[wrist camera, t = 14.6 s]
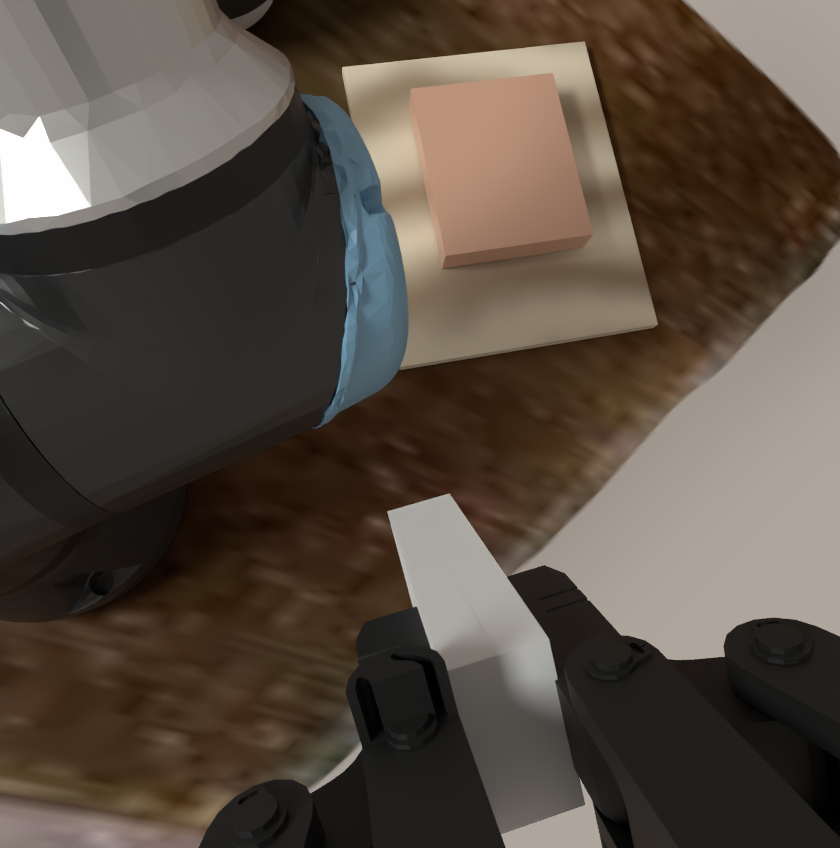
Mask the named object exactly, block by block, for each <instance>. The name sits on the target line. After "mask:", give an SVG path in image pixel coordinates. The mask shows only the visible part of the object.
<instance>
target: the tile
mask: <svg viewBox="0 0 840 848" xmlns="http://www.w3.org/2000/svg"><path fill="white" fill-rule="evenodd" d="M408 109H409V114H410V119H411V124H412V128H413V133H414V138H415V143H416V147H417V152H418V157H419V162H420V166H421V171H422V176H423V181H424V186H425V190H426V195H427V200H428V205H429V209H430V214H431V219H432V224H433V229H434V233H435V238H436V243H437V248H438V252H439V257H440V262H441V267H442V268H449V267H456V266H463V265H469V264H476V263H483V262H490V261H497V260H503V259H510V258H517V257H524V256H531V255H537V254H544V253H551V252H558V251H564V250H571V249H578V248H583V247H584V246H585V244H586V243H587V242H588V241H589V239H590V238H591V237H592V235H593V232H592V228H591V223H590V219H589V215H588V211H587V207H586V203H585V199H584V195H583V191H582V187H581V183H580V179H579V175H578V171H577V167H576V163H575V159H574V155H573V151H572V147H571V143H570V139H569V135H568V131H567V127H566V123H565V119H564V115H563V111H562V107H561V103H560V99H559V95H558V91H557V87H556V83H555V79H554V75H553V73H547V74H538V75H529V76H520V77H511V78H502V79H493V80H484V81H475V82H466V83H457V84H448V85H439V86H430V87H421V88H412V89H410V98H409V106H408Z"/></svg>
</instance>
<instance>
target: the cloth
mask: <svg viewBox="0 0 840 848" xmlns="http://www.w3.org/2000/svg"><path fill="white" fill-rule="evenodd" d="M547 73H553V75H554V79H555V83H556V87H557V91H558V95H559V99H560V103H561V107H562V111H563V115H564V119H565V123H566V127H567V131H568V135H569V139H570V143H571V147H572V151H573V155H574V159H575V163H576V167H577V171H578V175H579V179H580V183H581V187H582V191H583V195H584V199H585V203H586V207H587V211H588V215H589V219H590V223H591V228H592V232H593V235H592V237H591V238H590V239H589V241H588V242H587V243H586V244H585V246H584V247H583V248H578V249H571V250H564V251H558V252H551V253H544V254H537V255H531V256H524V257H517V258H510V259H503V260H497V261H490V262H483V263H476V264H469V265H463V266H456V267H449V268H442V267H441V262H440V257H439V252H438V248H437V243H436V238H435V233H434V229H433V224H432V219H431V214H430V209H429V205H428V200H427V195H426V190H425V186H424V181H423V176H422V171H421V166H420V162H419V157H418V152H417V147H416V143H415V138H414V133H413V128H412V124H411V119H410V114H409V109H408V106H409V98H410V89H412V88H421V87H430V86H439V85H448V84H457V83H466V82H475V81H484V80H493V79H502V78H511V77H520V76H529V75H538V74H547ZM342 75H343V81H344V86H345V91H346V96H347V101H348V106H349V112H350V117H351V120H352V122H353V123H354V125H355V126H356V128H357V130H358V131H359V133H360V135H361V137H362V139H363V141H364V143H365V145H366V147H367V149H368V151H369V153H370V155H371V158H372V160H373V163H374V165H375V168H376V171H377V174H378V176H379V179H380V183H381V194H382V205H383V206H384V208H385V210H386V211H387V212H388V213H390V215H391V217H392V219H393V222H394V225H395V229H396V232H397V236H398V241H399V245H400V250H401V255H402V260H403V266H404V272H405V278H406V286H407V294H408V308H409V330H408V340H407V346H406V351H405V354H404V358H403V361H402V363H401V365H400V367H399V369H400V370H404V369H410V368H416V367H422V366H428V365H434V364H440V363H446V362H452V361H458V360H464V359H470V358H476V357H482V356H488V355H494V354H500V353H506V352H512V351H518V350H524V349H530V348H536V347H542V346H548V345H554V344H560V343H566V342H572V341H578V340H584V339H590V338H597V337H603V336H609V335H615V334H621V333H627V332H633V331H639V330H645V329H651V328H654V327H655V326H657V325H658V322H657V319H656V315H655V311H654V307H653V303H652V299H651V296H650V292H649V288H648V284H647V280H646V276H645V272H644V269H643V265H642V261H641V257H640V253H639V249H638V245H637V242H636V238H635V234H634V230H633V226H632V222H631V218H630V215H629V211H628V207H627V203H626V199H625V195H624V191H623V188H622V184H621V180H620V176H619V172H618V168H617V164H616V161H615V157H614V153H613V149H612V145H611V141H610V138H609V134H608V130H607V126H606V122H605V118H604V114H603V111H602V107H601V103H600V99H599V95H598V91H597V87H596V84H595V80H594V76H593V72H592V68H591V64H590V60H589V57H588V53H587V49H586V45H585V42H576V43H567V44H557V45H548V46H538V47H529V48H519V49H510V50H500V51H491V52H482V53H472V54H463V55H453V56H444V57H434V58H425V59H415V60H406V61H397V62H387V63H378V64H368V65H359V66H349V67H342Z"/></svg>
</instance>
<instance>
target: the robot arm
mask: <svg viewBox="0 0 840 848" xmlns="http://www.w3.org/2000/svg"><path fill="white" fill-rule="evenodd" d="M408 330H409V308H408V294H407V286H406V278H405V272H404V266H403V260H402V255H401V250H400V245H399V241H398V236H397V232H396V229H395V225H394V222H393V219H392V217H391V215H390V213H388V212H387V211H386V210H385V208H384V206H383V205H382V194H381V183H380V179H379V176H378V174H377V171H376V168H375V165H374V163H373V160H372V158H371V155H370V153H369V151H368V149H367V147H366V145H365V143H364V141H363V139H362V137H361V135H360V133H359V131H358V130H357V128H356V126H355V125H354V123H353V122H352V120H351V119H350V118H349V116H348V115H347V114H346V112H345V111H344V110H343V109H342V108H341V107H339V106H338V105H337V104H336V103H334V102H333V101H331V100H330V99H329V98H327V97H324V96H312V95H310V94H300V93H299V90H298V86H297V83H296V80H295V76H294V73H293V70H292V67H291V64H290V62H289V61H288V59H287V58H286V56H285V55H284V54H283V53H282V52H280V51H279V50H278V49H276V48H274V47H273V46H271V45H269V44H268V43H266V42H264V41H263V40H261V39H259V38H258V37H256V36H254V35H253V34H251V33H249V32H248V31H246V30H244V29H243V28H241V27H239V26H238V25H236V24H234V23H233V22H232V21H231V20H230V19H229V18H228V17H227V16H226V15H225V14H224V13H223V12H222V11H221V10H220V9H219V7H218V4H217V1H216V0H0V620H4V621H12V622H30V623H32V622H46V621H54V620H59V619H64V618H68V617H71V616H75V615H79V614H82V613H86V612H89V611H92V610H95V609H97V608H100V607H102V606H104V605H106V604H108V603H110V602H112V601H114V600H116V599H118V598H119V597H121V596H123V595H124V594H125V593H127V592H128V591H130V590H131V589H132V588H134V587H135V586H136V585H137V584H139V583H140V582H141V581H142V580H143V579H144V578H145V577H146V576H147V575H148V574H149V573H150V572H151V571H152V570H153V569H154V568H155V566H156V565H157V564H158V563H159V561H160V560H161V559H162V557H163V556H164V554H165V553H166V551H167V550H168V548H169V546H170V544H171V543H172V541H173V539H174V537H175V534H176V532H177V530H178V527H179V524H180V521H181V518H182V514H183V511H184V505H185V499H186V485H187V483H189V482H192V481H194V480H196V479H198V478H201V477H203V476H205V475H207V474H210V473H212V472H214V471H216V470H219V469H221V468H223V467H225V466H228V465H230V464H232V463H234V462H237V461H239V460H241V459H243V458H246V457H248V456H250V455H252V454H255V453H257V452H259V451H261V450H264V449H266V448H268V447H270V446H273V445H275V444H277V443H279V442H282V441H284V440H286V439H288V438H291V437H293V436H295V435H297V434H300V433H302V432H304V431H306V430H309V429H316V428H319V427H321V426H322V425H323V424H326V423H328V422H329V421H330V420H332V419H333V418H334V417H335V415H336V414H337V413H339V412H341V411H343V410H344V409H346V408H348V407H350V406H352V405H354V404H356V403H357V402H359V401H361V400H363V399H365V398H367V397H369V396H370V395H372V394H374V393H376V392H378V391H379V390H381V389H382V388H383V387H385V386H386V385H387V384H388V383H389V382H390V381H391V380H392V379H393V377H394V376H395V375H396V373H397V371H398V370H399V367H400V365H401V363H402V361H403V358H404V354H405V351H406V346H407V340H408ZM387 513H388V516H389V520H390V524H391V527H392V531H393V535H394V539H395V542H396V546H397V550H398V553H399V557H400V561H401V565H402V568H403V572H404V576H405V580H406V583H407V587H408V591H409V594H410V598H411V602H412V606H413V608H410V609H406V610H403V611H400V612H397V613H393V614H390V615H387V616H383V617H380V618H377V619H374V620H370V621H367V622H365V623H364V625H363V627H362V629H361V631H360V633H359V635H358V637H357V639H356V644H357V653H358V659H359V660H358V661H359V666H358V667H357V669H356V670H355V671H354V673H353V674H352V675H351V677H350V678H349V679H348V683H347V688H346V695H347V698H348V701H349V705H350V708H351V711H352V714H353V718H354V721H355V724H356V728H357V731H358V734H359V737H360V741H361V744H362V750H361V752H360V753H359V755H358V756H357V758H356V760H355V761H354V762H353V763H352V764H351V765H350V766H349V767H348V768H347V769H346V770H345V771H344V772H343V773H341V774H340V775H339V776H337V777H336V778H335V779H333V780H332V781H330V782H329V783H327V784H326V785H324V786H322V787H321V788H319V789H318V790H316V791H314V792H312V793H311V794H310V793H309V791H308V789H307V787H306V786H304V785H302V784H300V783H298V782H296V781H294V780H272V781H268V782H265V783H262V784H258V785H255V786H253V787H252V788H250V789H248V790H246V791H245V792H243V793H241V794H240V795H238V796H236V797H235V798H234V799H233V800H231V801H230V802H229V803H228V804H227V805H226V806H225V807H224V808H223V809H222V810H221V811H220V812H219V813H218V814H217V816H216V817H215V819H214V820H213V822H212V823H211V825H210V826H209V828H208V829H207V831H206V833H205V835H204V837H203V840H202V842H201V844H200V846H199V848H505V845H504V842H503V839H502V836H501V834H503V833H506V832H509V831H511V830H514V829H517V828H520V827H523V826H526V825H528V824H531V823H534V822H537V821H540V820H543V819H546V818H548V817H552V816H554V815H557V814H560V813H563V812H566V811H569V810H572V809H575V808H577V807H580V806H583V805H585V802H584V797H583V793H582V788H581V784H580V779H581V781H582V783H583V784H584V786H585V788H586V790H587V792H588V794H589V795H590V797H591V799H592V801H593V805H594V810H595V815H596V820H597V824H598V829H599V833H600V838H601V843H602V847H603V848H840V637H839V636H837V635H835V634H833V633H830V632H828V631H826V630H823V629H821V628H819V627H817V626H814V625H810V624H807V623H804V622H801V621H798V620H791V619H781V618H766V619H757V620H752V621H749V622H746V623H744V624H741V625H738V626H736V627H735V628H734V629H733V630H732V631H731V632H730V633H728V634H727V636H726V639H725V643H724V652H725V657H718V658H706V659H695V660H669V659H667V658H666V657H665V656H663V654H662V653H661V652H660V651H659V650H658V649H657V648H655V647H654V646H652V645H651V644H649V643H648V642H646V641H644V640H641V639H637V638H634V637H630V636H621V635H620V634H619V633H618V632H617V631H616V630H615V629H614V627H613V626H612V625H611V624H610V623H609V622H608V621H607V620H606V618H605V617H604V616H603V615H602V614H601V613H600V612H599V611H598V610H597V609H596V607H595V606H594V605H593V604H592V603H591V602H590V601H588V600H587V597H586V596H585V595H584V594H583V593H582V592H581V591H580V590H578V589H577V586H576V585H575V584H574V583H573V582H572V581H571V580H570V579H569V578H568V576H567V575H566V574H565V573H562V572H560V571H557V570H555V569H552V568H549V567H547V566H545V565H544V566H541V567H538V568H534V569H531V570H527V571H524V572H521V573H518V574H514V575H511V576H508V577H506V575H505V574H504V572H503V571H502V570H501V568H500V567H499V565H498V564H497V562H496V561H495V559H494V558H493V556H492V555H491V553H490V552H489V551H488V549H487V548H486V546H485V545H484V543H483V542H482V540H481V539H480V537H479V536H478V534H477V533H476V532H475V530H474V529H473V527H472V526H471V524H470V523H469V521H468V520H467V518H466V517H465V516H464V514H463V513H462V511H461V510H460V508H459V507H458V505H457V504H456V502H455V501H454V499H453V498H452V497H451V495H450V494H446V495H442V496H439V497H435V498H432V499H428V500H425V501H421V502H418V503H414V504H411V505H407V506H404V507H401V508H397V509H394V510H390V511H387ZM579 777H580V779H579Z"/></svg>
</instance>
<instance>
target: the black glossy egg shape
mask: <svg viewBox="0 0 840 848" xmlns="http://www.w3.org/2000/svg"><path fill="white" fill-rule="evenodd" d="M216 1H217V4H218V7H219V9H220V10H221V11H222V12H223V13H224V14H225V15H226V16H227V17H228V18H229V19H230V20H231V21H232V22H233V23H234V24H236V25H238V26H239V27H241V28H243V29H244V30H245V29H247V28H249V27H251V26H252V25H253V24H255V23H256V22H257V21H258V20H260V19H261V18H262V16H263V15H264V14H265V13H266V12H267V10H268V9H269V7H270V6H271V4H272V2H273V0H216Z"/></svg>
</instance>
